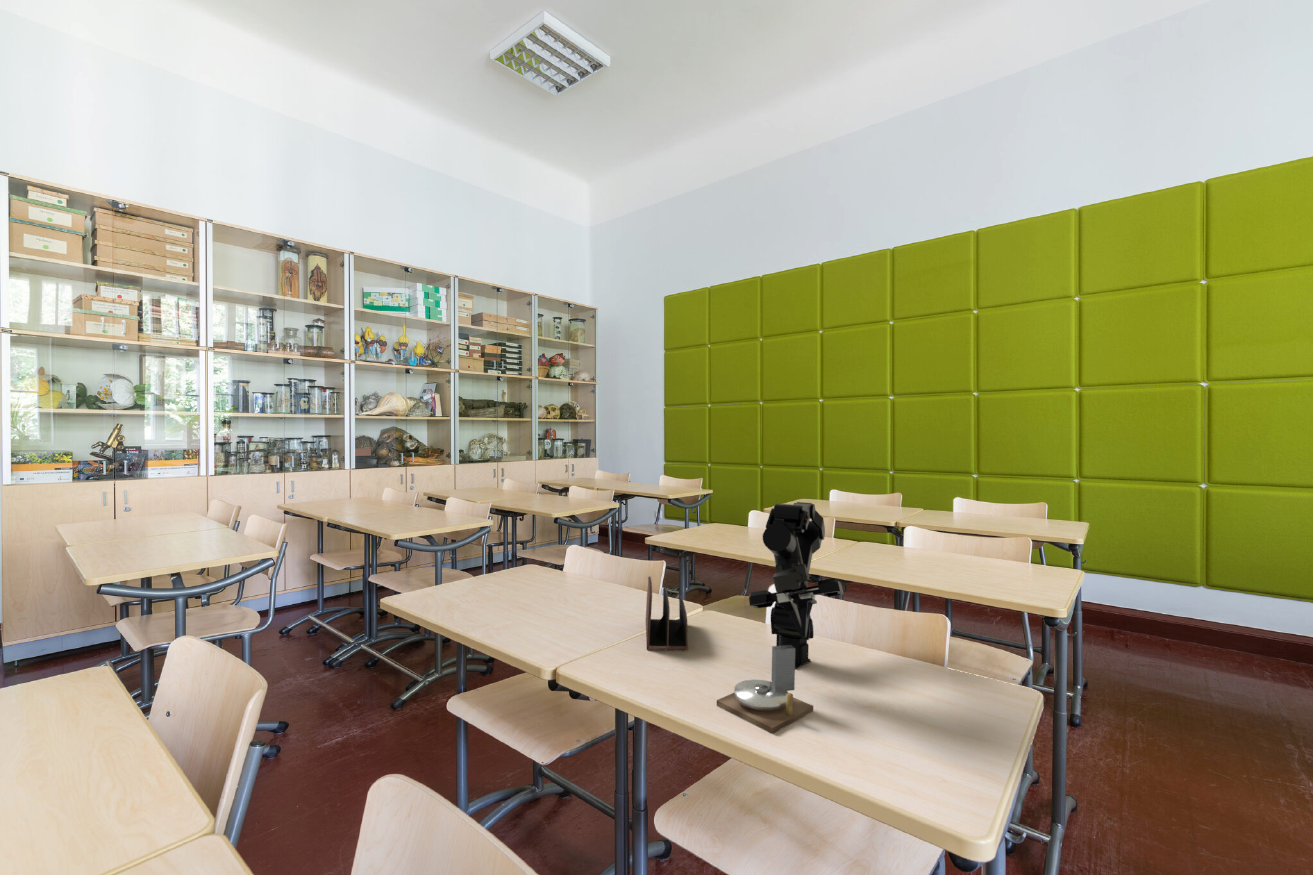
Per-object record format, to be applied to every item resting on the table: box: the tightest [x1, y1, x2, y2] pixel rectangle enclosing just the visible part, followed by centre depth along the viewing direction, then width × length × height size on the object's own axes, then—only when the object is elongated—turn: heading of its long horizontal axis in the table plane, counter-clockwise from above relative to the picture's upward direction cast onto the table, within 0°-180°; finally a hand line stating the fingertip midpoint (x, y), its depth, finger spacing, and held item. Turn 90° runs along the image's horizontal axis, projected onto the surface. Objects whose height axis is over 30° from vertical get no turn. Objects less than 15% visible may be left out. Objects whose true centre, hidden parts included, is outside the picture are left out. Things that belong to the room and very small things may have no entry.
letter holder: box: [645, 575, 689, 652], centre depth 141 cm, size 10×20×14 cm, turn 2°
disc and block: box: [733, 645, 796, 711], centre depth 104 cm, size 12×10×9 cm
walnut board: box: [716, 692, 814, 734], centre depth 104 cm, size 13×13×5 cm
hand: (803, 637), depth 111 cm, fingers closed
